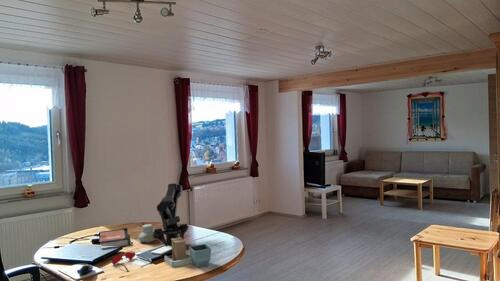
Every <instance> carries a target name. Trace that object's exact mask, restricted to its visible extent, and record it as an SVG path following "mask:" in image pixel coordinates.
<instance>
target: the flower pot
mask: <svg viewBox="0 0 500 281" xmlns="http://www.w3.org/2000/svg"><path fill="white" fill-rule="evenodd" d="M188 248H189V254H190V255H191V258H192V261H193V262H194V263H193V264H194V265H195V266H196V268H200V267H205V266H208V264H210V262H211V257H212V256H211V255H212V248H211V247H210V246H209V245H207V243H202V244H198V245H191V246H189V247H188Z"/></svg>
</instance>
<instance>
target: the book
mask: <svg viewBox="0 0 500 281" xmlns="http://www.w3.org/2000/svg"><path fill="white" fill-rule="evenodd" d="M128 232H129V231H128V227H123V228H119V229H110V230H102V231H100V232H99V236H98V243H99V242H100V243H99V244H100V247H101V246H120V247H125V246H131V237H130V236H129V233H128Z"/></svg>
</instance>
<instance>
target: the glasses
mask: <svg viewBox="0 0 500 281" xmlns="http://www.w3.org/2000/svg"><path fill="white" fill-rule="evenodd" d="M123 255H124V257H125V259H126V260H127V259H128V260H129V261H131V260H133V259H134V257H136V256H137V257H140V258H143V259H146V260H147V261H148V262H149V263H150V265H153V263H152V261H150V259H149V258H147V257H145V256H142V255H139V254H136V252H135V251H134V250H130V251H126V252H124V253H121V254H117V255H114V256H112V259H111V260H110V262H111V264H112V265H113V266H115V265H119V266H123V267H124V268H125V269H126V271H127V273H129V272H130V271H129V269H128V267H127V266H126V265H124V264H122V263H119V262H120V261H123V260H124V257H123Z"/></svg>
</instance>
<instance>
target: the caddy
mask: <svg viewBox="0 0 500 281" xmlns="http://www.w3.org/2000/svg"><path fill="white" fill-rule="evenodd" d="M171 240H172V245H171V259H172V260H173V261H177V260H182V259H186V252H187V249H186V248H187V247H186V246H187V245H186V239H183V238H181V237H180V236H179V238H173V239H171Z"/></svg>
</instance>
